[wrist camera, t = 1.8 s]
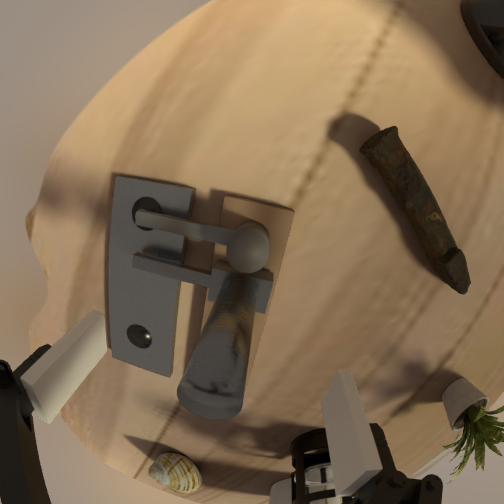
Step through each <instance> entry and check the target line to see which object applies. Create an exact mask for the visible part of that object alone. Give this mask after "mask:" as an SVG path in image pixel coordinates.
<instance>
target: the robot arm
mask: <svg viewBox="0 0 504 504" xmlns="http://www.w3.org/2000/svg"><path fill="white" fill-rule="evenodd" d="M461 12H462V16H463V19H464V21H465V24H466V26H467V28H468V30H469V32H470V34H471V36H472V38H473V39H474V41H475V43H476V44H477V46H478V47H479V49H480V50H481V52H482V53H483V55H484V56H485V58H486V59H487V60H488V62H489V63H490V64H491V65H492V67H493V68H494V69H495V70H496V71H497V72H498V73H499V74H500V76H501V77H502V78H504V0H462V2H461ZM106 352H107V346H106V335H105V321H104V313H101V312H99V311H96V310H94V309H93V310H92V311H91V312H90V313H89V314H87V315H86V316H85V317H84V318H83V319H82V320H81V321H80V322H78V323H77V324H76V325H75V326H74V327H73V328H72V329H71V330H69V331H68V332H67V333H66V334H65V335H64V336H63V337H62V338H61V339H60V340H59V341H57V342H56V343H55V344H54V345H53V346H50V345H49V344H46V345H44V346H41V347H39V348H38V349H37V350H36V351H35V352H34V353H33V354H32V355H30V356H29V358H27V359H26V360H25V361H24V362H23V363H22V364H21V365H20V366H19V367H18V368H17V369H16V370H15V371H14V372H12V370H11V368H10V365H9V364H8V362H6V361H4V360H0V498H1V502H2V504H51V501H50V498H49V495H48V492H47V488H46V485H45V481H44V477H43V473H42V469H41V465H40V460H39V455H38V450H37V445H36V438H35V432H34V424H33V417H32V414H31V413H32V412H33V411H34V410H35V412H36V414H37V415H38V417H39V418H40V419H42V420H43V421H45V422H47V423H48V424H50V423H51V422H52V420H53V419H54V418H55V416H56V415H57V414H58V412H59V411H60V410H61V408H62V407H63V406H64V405H65V403H66V402H67V401H68V399H69V398H70V397H71V395H72V394H73V393H74V392H75V390H76V389H77V388H78V386H79V385H80V384H81V383H82V381H83V380H84V379H85V378H86V376H87V375H88V374H89V373H90V371H91V370H92V369H93V368H94V366H95V365H96V364H97V363H98V361H99V360H100V359H101V358H102V356H103V355H104V354H105V353H106ZM321 406H322V412H323V418H324V423H325V429H326V435H327V441H328V447H329V453H330V460H331V466H332V473H333V480H334V487H335V494H336V497H341V496H351V495H352V494H354V493H355V492H356V491H357V492H358V497H356V498H355V499H354V500H352V501H351V502H350V503H349V504H441V500H442V490H443V483H442V481H441V479H440V478H439V477H438V476H436V475H433V474H430V475H427V476H425V477H424V478H423V479H422V480H418V479H409V478H407V477H406V476H405V474H403V473H402V472H401V471H397V470H396V468H395V465H394V462H393V458H392V455H391V452H390V449H389V447H388V444H387V441H386V440H385V439H386V438H385V435H384V432H383V430H382V429H381V428H380V426H379V425H378V424H377V423H369V422H368V419H367V416H366V413H365V410H364V407H363V404H362V401H361V398H360V395H359V392H358V389H357V387H356V384H355V381H354V378H353V375H352V372H351V370H342V369H338V371H337V373H336V375H335V377H334V379H333V381H332V383H331V385H330V386H329V388H328V390H327V392H326V394H325V396H324V397H323V399H322V401H321Z"/></svg>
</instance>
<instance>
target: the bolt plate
mask: <svg viewBox="0 0 504 504" xmlns="http://www.w3.org/2000/svg"><path fill="white" fill-rule="evenodd" d="M195 190H196V188H191V187H185V186H180V185H174V184H169V183H163V182H157V181H151V180H145V179H139V178H133V177H127V176H116V179H115V186H114V194H113V203H112V213H111V225H110V241H109V268H108V295H109V322H110V337H111V349H112V357H113V358H116V359H118V360H121V361H123V362H126V363H128V364H131V365H134V366H137V367H139V368H142V369H145V370H148V371H151V372H154V373H157V374H160V375H163V376H166V377H169V378H170V376H171V374H172V372H173V360H174V347H175V335H176V324H177V314H178V305H179V296H180V287H181V281H180V280H176V279H172V278H169V277H165V276H161V275H158V274H154V273H150V272H147V271H143V270H140V269H136V268H133V267H132V259H131V256H132V254H133V253H134V252H135V251H140V252H141V253H142V254H144V255H148V256H152V257H156V258H160V259H164V260H168V261H171V262H175V263H179V264H184V257H185V250H186V243H187V236H183V235H178V234H174V233H170V232H165V231H161V230H157V229H152V228H148V227H144V226H139V225H135V222H136V218H135V214H136V212H137V211H138V210H139V209H144V210H146V211H150V212H154V213H159V214H164V215H168V216H173V217H178V218H182V219H187V220H190V218H191V212H192V206H193V201H194V195H195Z"/></svg>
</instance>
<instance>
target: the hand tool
mask: <svg viewBox="0 0 504 504" xmlns="http://www.w3.org/2000/svg"><path fill="white" fill-rule="evenodd" d="M360 152H361V153H363V154H365V155H367V156H368V157H369V159H370V163H371V164H372V166H373V167H374V168H377V169H378V171H379V172H380V174H381V175H382V177H383V179H384V180H385V182H386V184H387V186H388V187H389V188H390V190H391V192H392V193H393V195H394V196H395V197H396V198H397V199H398V201H399V202H400V204H401V206H402V209H403V210H404V212H405V213H406V215H407V216H408V218H409V220H410V221H411V223H412V225H413V227H414V228H415V230H416V232H417V234H418V236H419V238H420V240H421V241H422V243H423V245H424V247H425V249H426V251H427V257H428V259H429V261H430V262H431V264H432V266H433V267H434V269H435V270H436V272H438V274H439V275H440V276H441V277H442V278H443V280H444V281H445V283H447V284H448V285H449V286H450V287H451V288H452V289H454V290H456V291H457V292H458V293H460V294H466V292H467V291H468V287H469V285H470V284H471V281H470V277H469V272H468V268H467V263H466V259H465V256H464V254H463V252H462V251H461V250H460V249H458V248H457V246H456V243H455V241H454V238H453V237H452V235H451V232H450V230H449V228H448V226H447V224H446V220H445V218H444V216H443V214H442V212H441V210H440V208H439V206H438V203H437V201H436V199H435V197H434V195H433V194H432V192H431V190H430V188H429V186H428V184H427V183H426V181H425V179H424V177H423V175H422V174H421V172H420V170H419V168H418V167H417V165H416V164H415V162H414V161H413V159H412V158H411V156H410V154H409V152H408V151H407V150H406V148H405V147H404V145H403V143H402V141H401V140H400V138H399V136H398V128H397V127H396V126H392V127H389V128H386V129H384V130H382V131H380V132H378V133H376V134H375V135H374V136H372V137H371V138H370V139H368V140H367V141H366V142H365V143H364V145H363V146H362V147H361V149H360Z"/></svg>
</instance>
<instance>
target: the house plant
mask: <svg viewBox="0 0 504 504" xmlns="http://www.w3.org/2000/svg"><path fill="white" fill-rule="evenodd" d="M442 401H443V404H444V407H445V410H446V413H447V416H448V419H449V423H450V426H451V429H452V430H454V431H457V430H461V429H463V428H464V429H463V435H462V438H461V439H460V440H458V441H457V442H455V443H453V444H450V445H447V446H443V447H445V448H446V449H448V448H451V447H453V446H455V445H457V444H458V443H459V442H460V443H459V444H458V446H457V447H456V448H455V450H454V451H453V452H457V453H456V455H455V456H454V458H455V457H456V456H457V455H458V453H459V452H460V450H461V448H462V447H463V445H464V443H465V441H466V438H467V445H466V446H465V447H464V448H463V450H465V449H466V450H465V454H464V455H463V456H464V458H463V460H462V462H461V463H460V464H459V465H458V466H459V468H458V470H456V471H455V472H454V473H456V472H457V471H459V472H458V473H457V475H456V476H455V477H454V478H453V479H455V478H456V477H457V476H458V475H459V473H460V472H461V471H462V470H463V468H464V466H465V465H466V463H467V461H468V459H469V456H470V454H471V453H472V452H473V450H474V449H475V461H476V470H477V469H478V467H479V466H480V464H481V468H482V469H483V470H484V457H485V445H484V442H485V443H486V445H487V446H488V447H489V448H490V449H491V450H492V451H494V452H495V453H497V454H498V455H500V456H502V454H501V453H500V452H499V450H498V449H497V448H496V446H495V445H494V444H498V443H500V442H504V433H502V432H501V431H504V429H503V428H500V427H504V422H498V421H497V419H498V418H497V417H493V416H488V415H486V414H490V415H492V414H497V413H500V412H502V411H504V406H503V407H501V408H499V409H497V410H495V411H491V412H487V411H484V410H485V409H486V407H487V404H488V397H486V396H485V395H484V394H483V393H482V392H481V391H480V390H478V389H477V388H476V387H475V386H474V385H473V384H471V383H470V382H469V381H468V380H467V379H465V378H460V379H458V380H456V381H454V382H453V383H452V384H451V385H449V386H448V388H447V389H446V390H445V391H444V393H443V395H442ZM469 424H470V425H469ZM494 425H496V426H500V427H496V426H494ZM459 432H460V431H459ZM469 433H470V436H469ZM457 437H458V436H457ZM493 438H494V439H495V440H494V439H493ZM456 439H457V438H456ZM473 439H474V441H475V442H474V446H473V447H472V444H473ZM496 440H497V441H496ZM455 441H456V440H455ZM493 443H494V444H493ZM441 446H442V445H441ZM469 446H470V447H469ZM468 447H469V450H468ZM463 456H461V457H463ZM454 458H453V459H454ZM453 459H452V460H453ZM458 466H457V467H458ZM457 467H456V468H457ZM454 473H452V474H454ZM453 479H452V480H453ZM452 480H451V481H452ZM451 481H450V482H451Z"/></svg>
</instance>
